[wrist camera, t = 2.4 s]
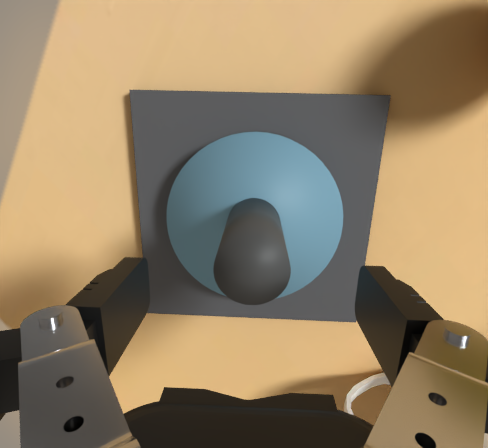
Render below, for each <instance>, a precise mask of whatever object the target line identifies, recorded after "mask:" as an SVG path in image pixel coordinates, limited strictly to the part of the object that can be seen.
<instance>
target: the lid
mask: <svg viewBox="0 0 488 448" xmlns="http://www.w3.org/2000/svg"><path fill="white" fill-rule="evenodd" d="M342 228H343V206H342V200H341V196H340V192H339V190H338V187H337V185H336V182H335V180H334V178H333V177H332V175H331V173H330V171H329V170H328V169H327V168H326V166H325V165H324V164H323V162H322V161H321V160H320V159H319V158H318V157H317V156H316V155H315V154H314V153H312V152H311V151H309V150H308V149H307V148H305V147H304V146H302V145H300V144H299V143H297V142H295V141H293V140H291V139H289V138H286V137H284V136H281V135H277V134H273V133H268V132H257V131H255V132H242V133H237V134H232V135H229V136H226V137H223V138H221V139H219V140H217V141H215V142H212V143H210V144H208V145H207V146H206V147H204V148H203V149H201V150H200V151H198V152H197V153H196V154H195V155H194V156H193V157H192V158H191V159H189V161H188V162H187V163H186V164H185V165H184V167H183V168H182V169H181V171H180V172H179V174H178V176H177V177H176V179H175V181H174V184H173V186H172V188H171V191H170V195H169V198H168V204H167V229H168V234H169V238H170V242H171V244H172V247H173V249H174V252H175V253H176V255H177V257H178V259H179V260H180V262H181V263H182V265H183V266H184V267H185V269H186V270H187V271H188V272H189V273H190V274H191V275H192V276H193V277H194V278H195V279H196V280H198V281H199V282H200V283H201V284H203V285H204V286H206V287H207V288H209V289H211V290H213V291H215V292H217V293H219V294H221V295H224V296H227V297H228V298H230V299H231V300H233V301H235V302H238V303H241V304H245V305H260V304H264V303H267V302H270V301H272V300H274V299H276V298H280V297H284V296H286V295H289V294H291V293H294V292H296V291H298V290H299V289H301V288H303V287H304V286H306V285H307V284H309V283H310V282H312V281H313V280H314V279H315V278H316V277H317V276H318V275H319V274H320V273H321V272H322V271H323V270H324V269H325V268H326V266H327V265H328V263H329V262H330V260H331V259H332V257H333V255H334V253H335V251H336V249H337V247H338V244H339V241H340V238H341V233H342Z"/></svg>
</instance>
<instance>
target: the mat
mask: <svg viewBox="0 0 488 448" xmlns="http://www.w3.org/2000/svg"><path fill="white" fill-rule="evenodd" d="M390 96H391V95H349V94H302V93H255V92H208V91H161V90H130V102H131V115H132V127H133V139H134V152H135V164H136V177H137V189H138V202H139V214H140V226H141V239H142V251H143V258H146V259H147V262H148V272H149V286H150V305H149V309H148V312H147V313H158V314H180V315H203V316H225V317H248V318H271V319H293V320H316V321H338V322H356V316H355V298H356V291H357V284H358V277H359V271H360V268H361V266H365V260H366V254H367V247H368V241H369V234H370V227H371V221H372V214H373V208H374V201H375V195H376V188H377V182H378V175H379V169H380V162H381V155H382V149H383V142H384V136H385V129H386V123H387V116H388V110H389V103H390ZM255 131H257V132H268V133H273V134H277V135H281V136H284V137H286V138H289V139H291V140H293V141H295V142H297V143H299V144H300V145H302V146H304V147H305V148H307V149H308V150H309V151H311V152H312V153H314V154H315V155H316V156H317V157H318V158H319V159H320V160H321V161H322V162H323V164H324V165H325V166H326V168H327V169H328V170H329V171H330V173H331V175H332V177H333V178H334V180H335V182H336V185H337V187H338V190H339V192H340V196H341V200H342V206H343V228H342V233H341V238H340V241H339V244H338V247H337V249H336V251H335V253H334V255H333V257H332V259H331V260H330V262H329V263H328V265H327V266H326V268H325V269H324V270H323V271H322V272H321V273H320V274H319V275H318V276H317V277H316V278H315V279H314V280H313V281H312V282H310V283H309V284H307V285H306V286H304V287H303V288H301V289H299V290H298V291H296V292H294V293H291V294H289V295H286V296H284V297H280V298H276V299H274V300H272V301H270V302H267V303H264V304H260V305H245V304H241V303H238V302H235V301H233V300H231V299H230V298H228V297H227V296H224V295H221V294H219V293H217V292H215V291H213V290H211V289H209V288H207V287H206V286H204V285H203V284H201V283H200V282H199V281H198V280H196V279H195V278H194V277H193V276H192V275H191V274H190V273H189V272H188V271H187V270H186V269H185V267H184V266H183V265H182V263H181V262H180V260H179V259H178V257H177V255H176V253H175V252H174V249H173V247H172V244H171V242H170V238H169V234H168V229H167V204H168V198H169V195H170V191H171V188H172V186H173V184H174V181H175V179H176V177H177V176H178V174H179V172H180V171H181V169H182V168H183V167H184V165H185V164H186V163H187V162H188V161H189V159H191V158H192V157H193V156H194V155H195V154H196V153H197V152H198V151H200V150H201V149H203V148H204V147H206V146H207V145H208V144H210V143H212V142H215V141H217V140H219V139H221V138H223V137H226V136H229V135H232V134H237V133H242V132H255Z"/></svg>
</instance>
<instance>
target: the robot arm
mask: <svg viewBox="0 0 488 448" xmlns="http://www.w3.org/2000/svg"><path fill="white" fill-rule="evenodd" d="M149 305H150V286H149V272H148V262H147V259H146V258H133V257H125V258H124V259H123V260H122V261H120V262H119V263H118V264H117V265H116V266H115V267H114V268H113V269H109V270H107V271H105V272H103V273H101V274H99V275H97V276H96V277H95V278H94V279H93V280H92V281H91V282H90V284H88V285H87V286H85V287H84V288H83V290H81V291H80V292H79V293H78V294H77V295H76V296H75V297H73V298H72V299H71V300H70V301H69V302H68V303H67V304H66V305H61V306H53V307H48V308H45V309H42V310H39V311H37V312H35V313H33V314H31V315H30V316H28V317H27V318H26V319H24V320H23V322H22V323H21V326H20V328H19V329H12V330H5V331H0V420H1V419H2V417H3V416H4V415H5V413H7V412H12V411H17V410H19V411H20V443H21V448H483V444H484V433H486V434H488V341H487V340H486V338H485V337H484V336H483V335H481V334H480V333H479V332H477V331H476V330H474V329H472V328H470V327H468V326H466V325H463V324H460V323H457V322H453V321H448V320H444V319H443V318H442V317H441V316H440V315H439V314H438V313H437V312H436V311H435V310H434V309H433V308H432V307H431V306H430V305H429V304H428V303H426V301H425V300H424V299H423V298H422V297H421V296H419V294H418V293H417V292H416V291H415V290H414V289H413V288H412V287H411V286H409V285H407V284H405V283H404V282H402V281H400V280H396V279H395V278H394V277H393V276H392V275H391V274H390V272H389V271H388V270H387V269H386V268H385V267H383V266H361V268H360V271H359V277H358V284H357V291H356V298H355V316H356V320H357V322H358V324H359V326H360V328H361V330H362V331H363V333H364V335H365V337H366V339H367V341H368V343H369V345H370V347H371V349H372V350H373V352H374V354H375V356H376V358H377V360H378V362H379V364H380V366H381V367H382V369H383V371H384V373H385V375H386V377H387V379H388V381H389V383H390V385H391V386H392V389H391V391H390V393H389V395H388V397H387V400H386V402H385V404H384V406H383V408H382V410H381V412H380V414H379V416H378V418H377V420H376V423H375V425H374V426H373V425H371V424H370V423H368V422H366V421H365V420H363V419H361V418H358V417H356V416H354V415H352V414H349V413H346V412H344V411H340V410H337V407H336V404H335V400H334V397H333V395H322V394H300V393H289V394H283V395H277V396H271V397H266V398H260V399H254V400H244V399H240V398H236V397H232V396H229V395H225V394H221V393H218V392H214V391H210V390H206V389H190V388H167V387H164V390H163V393H162V395H161V398H160V401H159V402H153V403H150V404H146V405H143V406H140V407H137V408H135V409H132V410H130V411H128V412H126V413H124V414H123V412H122V409H121V407H120V404H119V402H118V399H117V397H116V394H115V391H114V389H113V386H112V384H111V381H110V379H109V376H110V374H111V372H112V371H113V369H114V367H115V366H116V364H117V362H118V361H119V359H120V357H121V355H122V354H123V352H124V350H125V349H126V347H127V345H128V344H129V342H130V340H131V339H132V337H133V335H134V334H135V332H136V330H137V329H138V327H139V325H140V324H141V322H142V320H143V318H144V317H145V315H146V313H147V312H148V309H149Z"/></svg>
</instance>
